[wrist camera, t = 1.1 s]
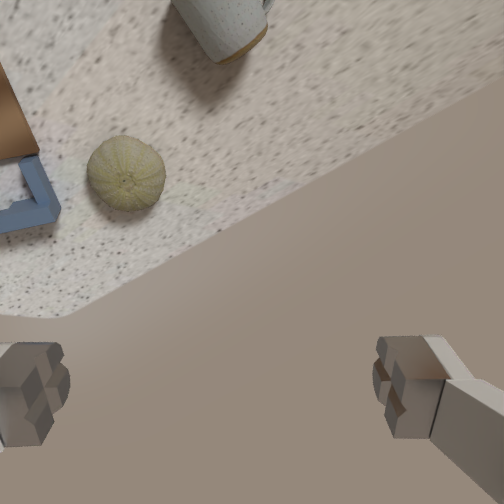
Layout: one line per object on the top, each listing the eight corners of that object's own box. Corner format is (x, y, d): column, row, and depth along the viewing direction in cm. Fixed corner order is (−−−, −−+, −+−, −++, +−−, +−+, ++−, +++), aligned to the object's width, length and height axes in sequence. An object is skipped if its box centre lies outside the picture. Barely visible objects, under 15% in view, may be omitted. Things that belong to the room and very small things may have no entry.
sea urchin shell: (101, 221, 49) (82, 198, 41) (94, 165, 50) (74, 132, 43) (173, 210, 50) (167, 186, 43) (164, 156, 52) (156, 123, 44)
